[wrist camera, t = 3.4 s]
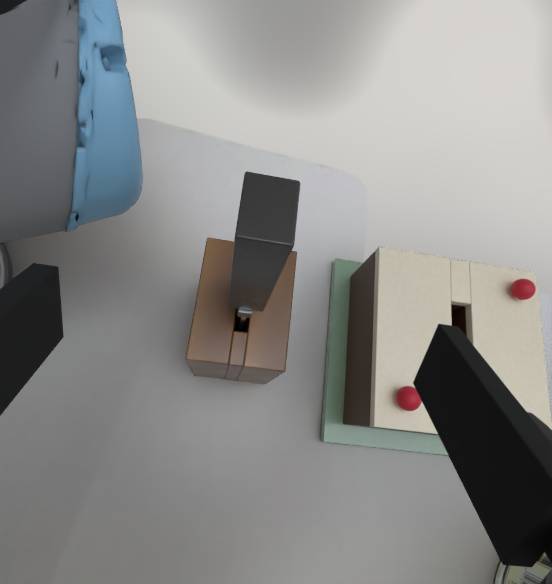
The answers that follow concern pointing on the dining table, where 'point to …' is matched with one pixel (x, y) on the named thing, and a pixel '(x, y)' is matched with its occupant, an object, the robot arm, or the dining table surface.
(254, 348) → the knife block
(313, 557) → the dining table surface
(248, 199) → the knife
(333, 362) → the cake platter
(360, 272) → the cake
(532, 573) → the coffee can
